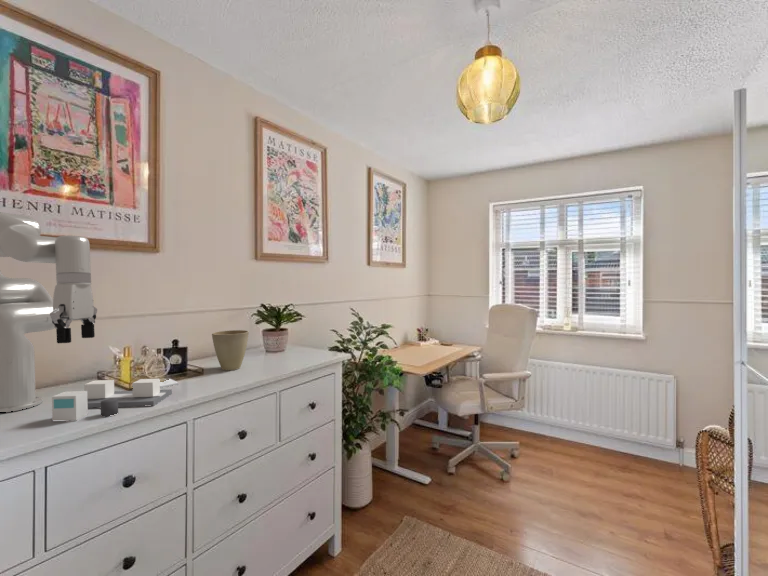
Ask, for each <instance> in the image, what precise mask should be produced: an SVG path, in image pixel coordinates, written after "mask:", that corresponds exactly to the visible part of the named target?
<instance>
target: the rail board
mask: <svg viewBox="0 0 768 576" xmlns="http://www.w3.org/2000/svg"><path fill="white" fill-rule="evenodd" d="M160 380H161V378H139V379H138V380H136V381H133V382H132V386H131V388H132V387H133V389H132V390H119V391H118V390H117V391H115V380H114V379H102V380H101V379H99V380H98V379H97V380H92V381H90V382H87V383H84V385H83V386H84V389H83V391H87V402H88V409H93V408H92V407H101V401H103V400H107V399H118V408H132V407H133V406H141V407H146V406H145V405H154V406H156V405H158V404H159V403H161V402H162V401H163V400H165V399H166V397H167V398H168V397H169V395H170V396H171V395H172V394H173V393H172V392H173V390H172V389H160ZM161 400H162V401H161ZM158 402H159V403H158ZM155 404H156V405H155ZM133 408H134V407H133Z"/></svg>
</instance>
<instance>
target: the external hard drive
mask: <svg viewBox="0 0 768 576" xmlns="http://www.w3.org/2000/svg"><path fill="white" fill-rule="evenodd" d="M168 379H169V380H166V379H165V380H166V381H164V382H160V388H161V389H164V388H163V387H166V388H170V387H174V386H173V385H175V386H178V385H179V382H178V381H176V380H174V379H172V378H168ZM169 386H170V387H169Z"/></svg>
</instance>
